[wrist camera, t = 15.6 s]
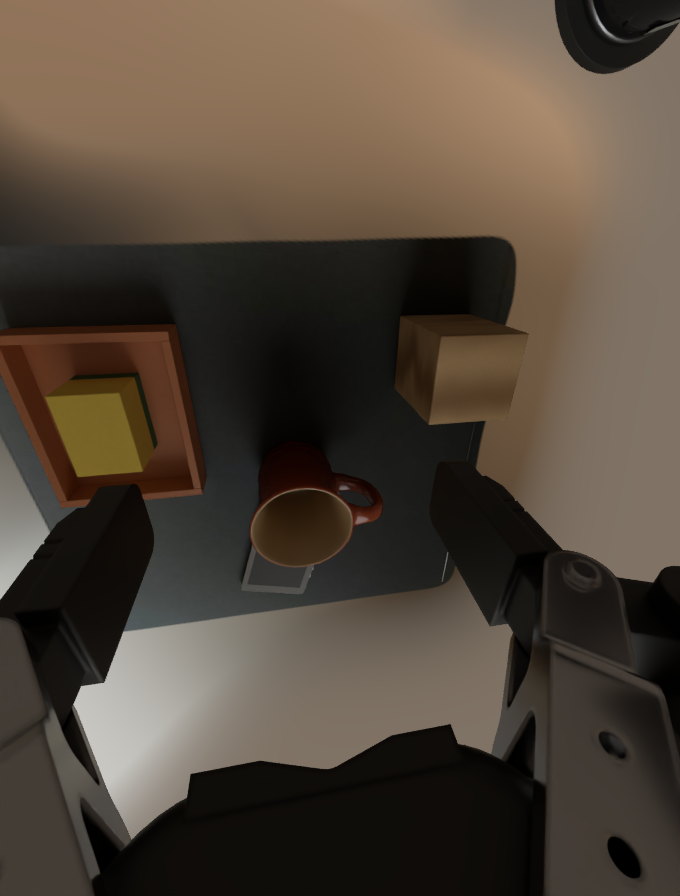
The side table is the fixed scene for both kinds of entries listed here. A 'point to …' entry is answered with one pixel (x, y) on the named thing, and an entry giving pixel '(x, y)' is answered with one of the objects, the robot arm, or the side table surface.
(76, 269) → the side table surface
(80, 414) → the sponge
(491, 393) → the tall wooden block
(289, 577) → the smartphone
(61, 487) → the tray
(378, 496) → the mug
